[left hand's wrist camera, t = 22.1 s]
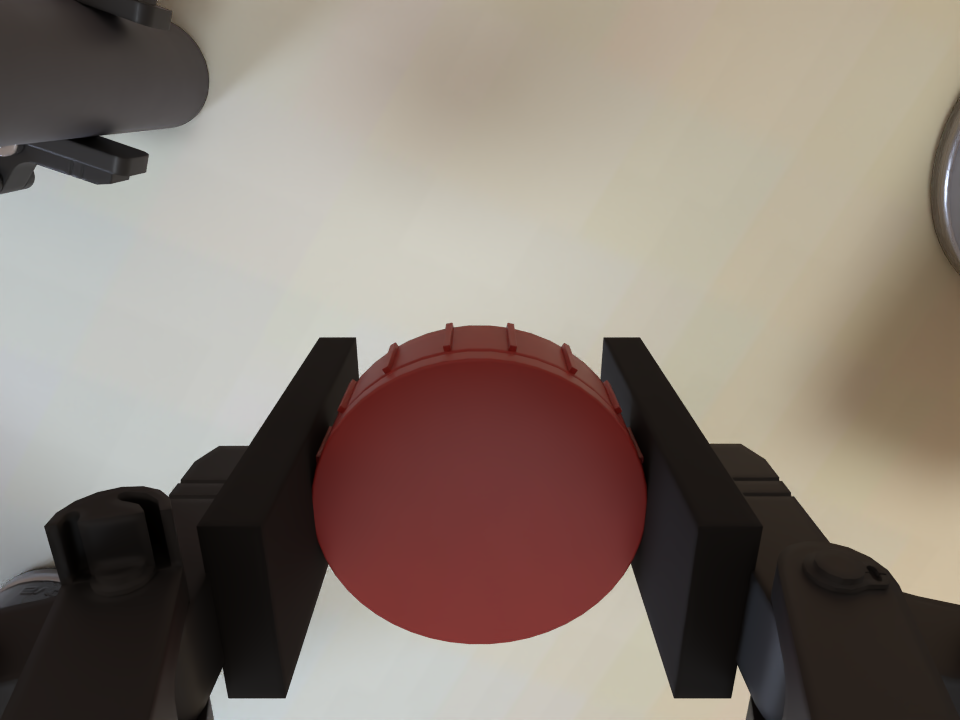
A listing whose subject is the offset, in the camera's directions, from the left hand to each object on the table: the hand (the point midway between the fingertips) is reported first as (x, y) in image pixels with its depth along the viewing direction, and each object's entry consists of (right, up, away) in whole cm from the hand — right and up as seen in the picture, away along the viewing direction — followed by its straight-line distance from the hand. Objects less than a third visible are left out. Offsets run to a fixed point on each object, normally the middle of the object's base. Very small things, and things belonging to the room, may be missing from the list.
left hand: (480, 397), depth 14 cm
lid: (0, -1, -4) cm, 4 cm away
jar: (-15, +14, +17) cm, 26 cm away
